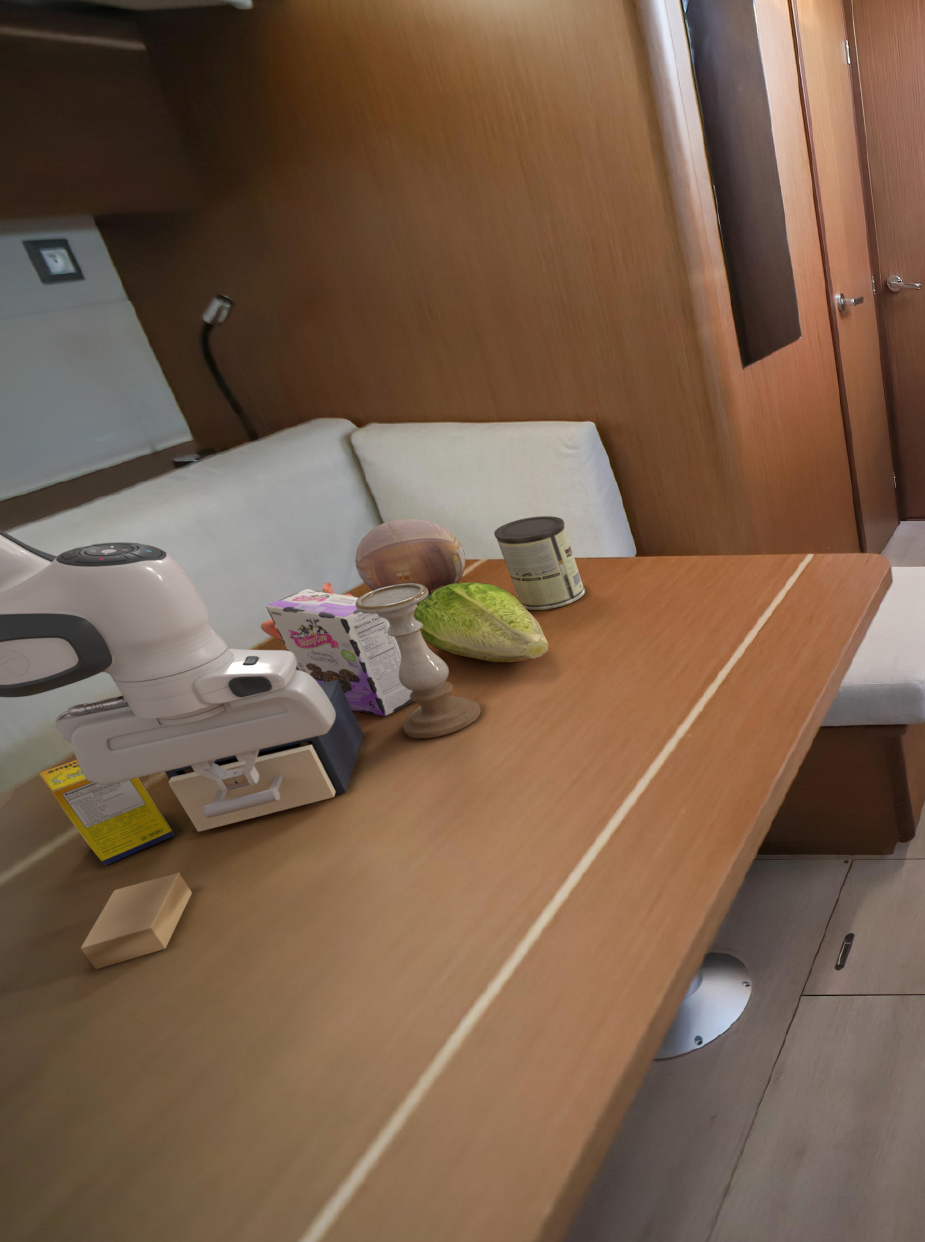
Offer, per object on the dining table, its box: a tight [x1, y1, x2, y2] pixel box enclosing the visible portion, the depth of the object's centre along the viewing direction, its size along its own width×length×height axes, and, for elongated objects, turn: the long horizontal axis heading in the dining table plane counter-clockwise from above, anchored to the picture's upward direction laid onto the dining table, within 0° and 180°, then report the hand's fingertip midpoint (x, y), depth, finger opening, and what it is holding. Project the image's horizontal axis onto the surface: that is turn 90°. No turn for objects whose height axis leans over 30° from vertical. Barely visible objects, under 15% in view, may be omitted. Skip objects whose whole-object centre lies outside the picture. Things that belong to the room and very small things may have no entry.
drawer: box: [168, 741, 336, 833], centre depth 109 cm, size 18×12×7 cm
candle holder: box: [355, 583, 481, 739], centre depth 122 cm, size 9×9×20 cm
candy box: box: [265, 588, 415, 717], centre depth 128 cm, size 14×6×16 cm, turn 76°
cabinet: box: [164, 680, 365, 796], centre depth 113 cm, size 15×14×9 cm
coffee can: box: [493, 515, 586, 611], centre depth 159 cm, size 10×10×14 cm
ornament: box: [354, 518, 467, 602], centre depth 158 cm, size 15×15×15 cm
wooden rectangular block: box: [80, 872, 193, 970], centre depth 92 cm, size 5×9×3 cm, turn 32°
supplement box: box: [39, 759, 175, 866], centre depth 101 cm, size 6×6×11 cm
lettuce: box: [413, 582, 549, 663], centre depth 142 cm, size 12×24×13 cm
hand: (241, 784), depth 103 cm, fingers closed
